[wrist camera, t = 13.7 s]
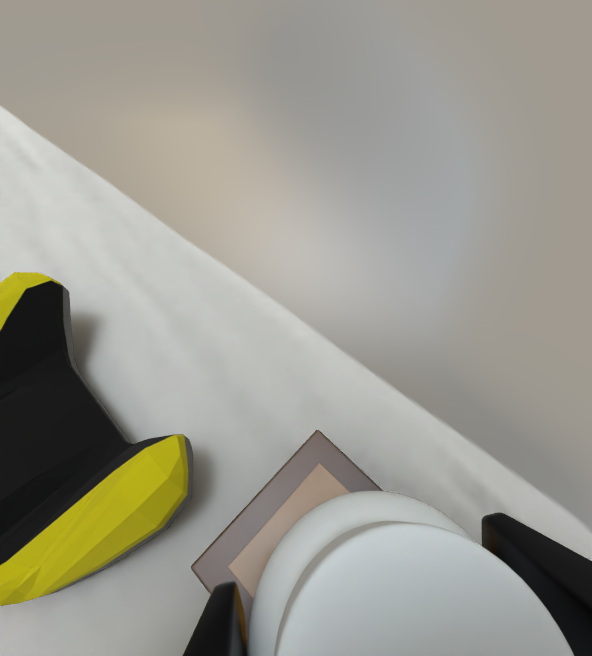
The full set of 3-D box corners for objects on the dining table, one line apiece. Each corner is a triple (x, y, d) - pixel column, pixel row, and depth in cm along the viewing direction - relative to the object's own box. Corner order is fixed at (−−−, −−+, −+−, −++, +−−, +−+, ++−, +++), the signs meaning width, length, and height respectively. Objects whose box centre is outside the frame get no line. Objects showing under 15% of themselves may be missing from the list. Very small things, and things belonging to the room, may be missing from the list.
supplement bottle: (376, 484, 14) (485, 418, 6) (455, 646, 12) (814, 904, 4) (249, 544, 13) (169, 563, 5) (305, 733, 11) (331, 1365, 3)
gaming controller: (84, 304, 24) (-79, 410, 20) (29, 247, 19) (-198, 373, 15) (230, 482, 18) (43, 665, 15) (207, 467, 14) (-78, 730, 10)
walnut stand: (462, 590, 16) (510, 608, 13) (364, 753, 14) (388, 835, 10) (313, 446, 19) (317, 427, 16) (211, 559, 17) (188, 567, 13)
